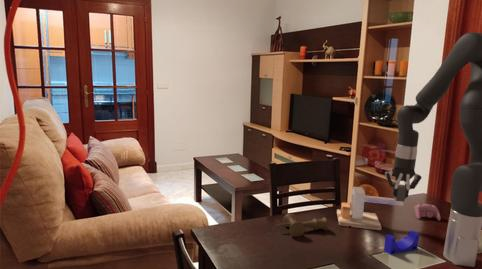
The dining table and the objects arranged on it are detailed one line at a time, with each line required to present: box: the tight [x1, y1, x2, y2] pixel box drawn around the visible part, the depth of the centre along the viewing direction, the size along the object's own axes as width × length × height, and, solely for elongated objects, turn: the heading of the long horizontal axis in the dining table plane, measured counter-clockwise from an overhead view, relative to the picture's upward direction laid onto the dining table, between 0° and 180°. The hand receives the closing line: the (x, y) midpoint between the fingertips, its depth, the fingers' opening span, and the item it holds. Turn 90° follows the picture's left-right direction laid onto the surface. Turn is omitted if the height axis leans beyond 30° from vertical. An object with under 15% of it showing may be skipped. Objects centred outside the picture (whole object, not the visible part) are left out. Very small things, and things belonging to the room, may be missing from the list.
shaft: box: [364, 183, 406, 207], centre depth 141 cm, size 3×18×8 cm, turn 80°
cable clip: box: [383, 230, 420, 255], centre depth 123 cm, size 12×4×6 cm, turn 110°
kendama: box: [277, 213, 329, 238], centre depth 134 cm, size 6×10×20 cm
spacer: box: [340, 201, 351, 219], centre depth 145 cm, size 5×3×5 cm, turn 170°
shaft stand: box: [336, 186, 383, 231], centre depth 144 cm, size 13×16×14 cm
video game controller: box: [413, 203, 441, 222], centre depth 151 cm, size 10×5×7 cm, turn 85°
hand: (399, 197), depth 140 cm, fingers closed on shaft, 3 cm apart
